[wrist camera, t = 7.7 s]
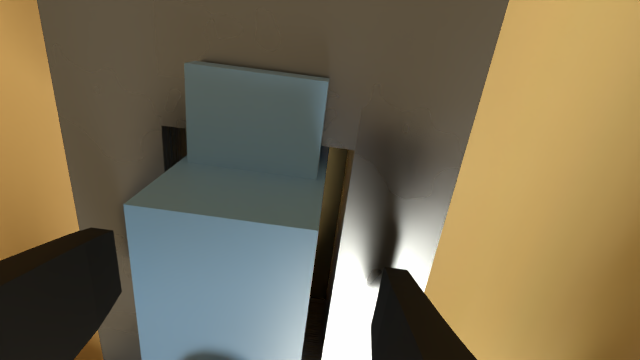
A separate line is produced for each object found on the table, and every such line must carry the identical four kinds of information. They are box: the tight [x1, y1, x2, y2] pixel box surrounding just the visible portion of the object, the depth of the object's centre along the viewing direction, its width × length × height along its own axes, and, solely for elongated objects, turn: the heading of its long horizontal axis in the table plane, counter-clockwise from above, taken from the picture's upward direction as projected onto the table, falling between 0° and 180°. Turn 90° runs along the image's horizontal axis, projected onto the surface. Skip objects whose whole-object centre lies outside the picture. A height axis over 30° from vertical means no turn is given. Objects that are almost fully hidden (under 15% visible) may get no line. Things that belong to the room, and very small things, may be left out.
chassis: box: [37, 0, 509, 360], centre depth 11 cm, size 10×18×3 cm, turn 174°
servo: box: [123, 61, 330, 360], centre depth 10 cm, size 3×10×6 cm, turn 173°
